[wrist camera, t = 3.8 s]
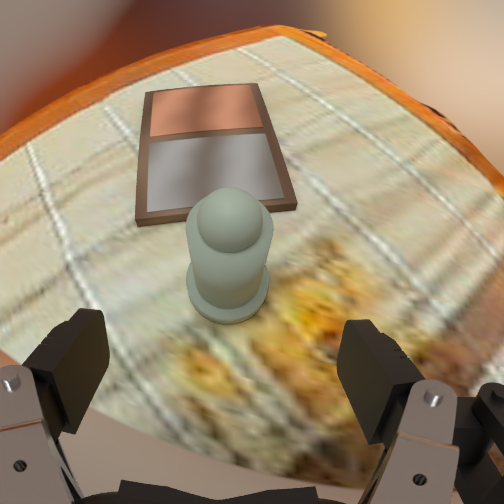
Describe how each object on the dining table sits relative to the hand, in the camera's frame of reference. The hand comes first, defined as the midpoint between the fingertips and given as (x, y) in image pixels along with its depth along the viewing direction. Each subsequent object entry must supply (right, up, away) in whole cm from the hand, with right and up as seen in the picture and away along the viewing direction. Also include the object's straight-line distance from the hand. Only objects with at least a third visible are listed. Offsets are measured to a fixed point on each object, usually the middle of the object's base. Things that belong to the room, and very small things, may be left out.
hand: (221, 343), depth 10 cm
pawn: (-1, 0, +13) cm, 13 cm away
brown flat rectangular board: (-3, +14, +20) cm, 24 cm away
